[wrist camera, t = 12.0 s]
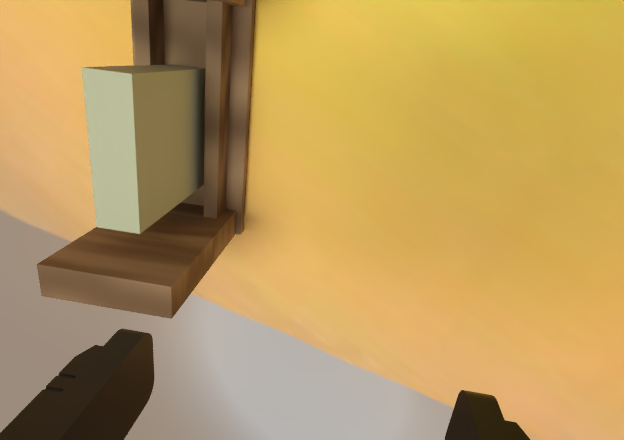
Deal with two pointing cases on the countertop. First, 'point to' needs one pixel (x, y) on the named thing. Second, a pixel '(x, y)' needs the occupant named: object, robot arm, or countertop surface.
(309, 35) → the countertop surface
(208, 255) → the brown wooden stand
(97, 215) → the door panel
